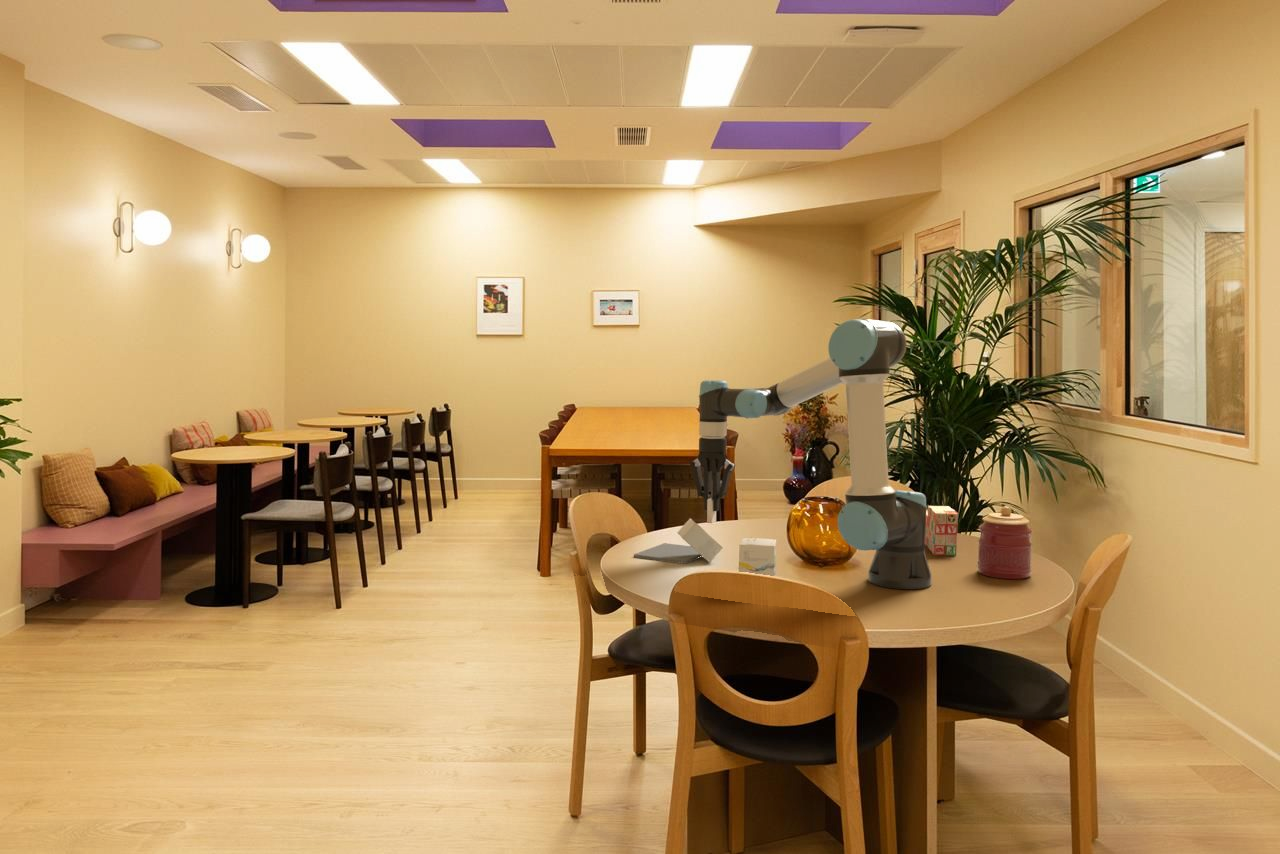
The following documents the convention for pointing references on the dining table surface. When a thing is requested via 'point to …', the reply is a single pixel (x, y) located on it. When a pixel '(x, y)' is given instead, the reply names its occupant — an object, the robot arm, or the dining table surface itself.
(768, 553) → the ink box
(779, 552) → the dining table surface
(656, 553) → the mat
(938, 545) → the stack of blocks
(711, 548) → the small box
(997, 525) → the canister
